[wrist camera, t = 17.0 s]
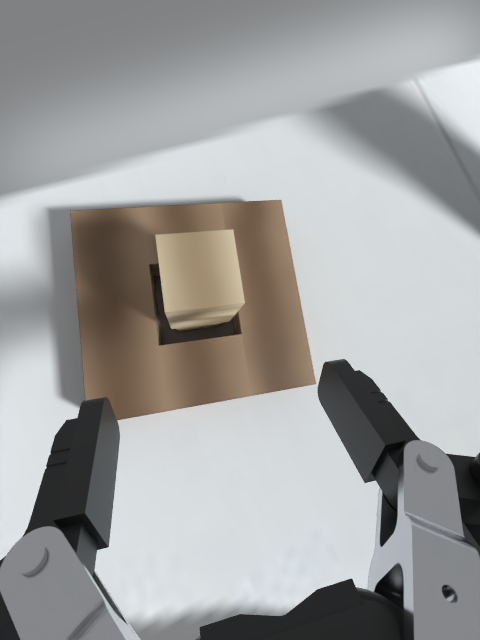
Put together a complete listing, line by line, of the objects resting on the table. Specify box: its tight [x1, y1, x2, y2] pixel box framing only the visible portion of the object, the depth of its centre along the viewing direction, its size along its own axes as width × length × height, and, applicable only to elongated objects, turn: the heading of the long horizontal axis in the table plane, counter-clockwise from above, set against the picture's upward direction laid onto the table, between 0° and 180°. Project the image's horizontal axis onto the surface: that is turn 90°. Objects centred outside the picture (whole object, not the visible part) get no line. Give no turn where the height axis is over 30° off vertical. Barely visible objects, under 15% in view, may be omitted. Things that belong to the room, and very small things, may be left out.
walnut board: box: [70, 200, 316, 420], centre depth 23 cm, size 16×15×3 cm
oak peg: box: [155, 229, 245, 332], centre depth 20 cm, size 4×4×10 cm
